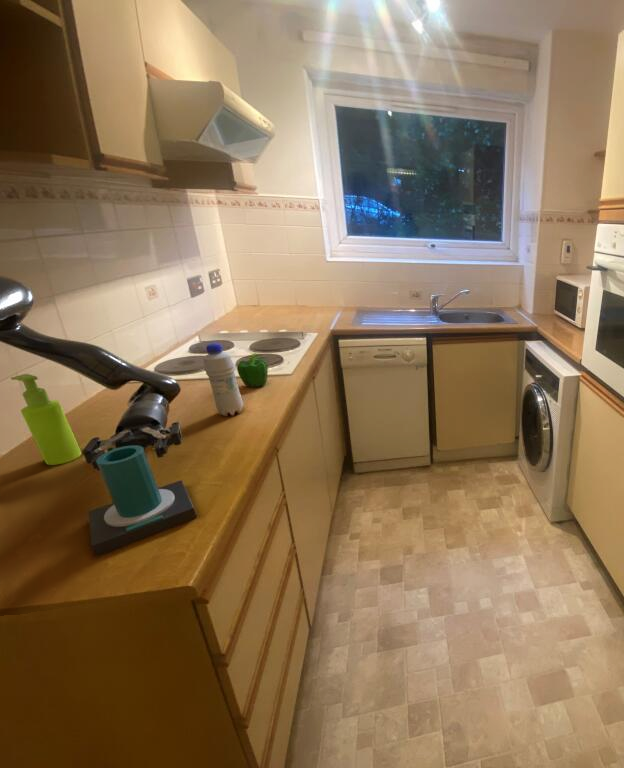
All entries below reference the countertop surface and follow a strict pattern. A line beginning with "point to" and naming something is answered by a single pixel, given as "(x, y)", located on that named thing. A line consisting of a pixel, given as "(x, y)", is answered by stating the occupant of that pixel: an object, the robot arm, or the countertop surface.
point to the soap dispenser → (48, 424)
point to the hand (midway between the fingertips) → (129, 459)
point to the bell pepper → (253, 371)
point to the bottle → (222, 380)
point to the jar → (129, 480)
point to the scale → (139, 520)
